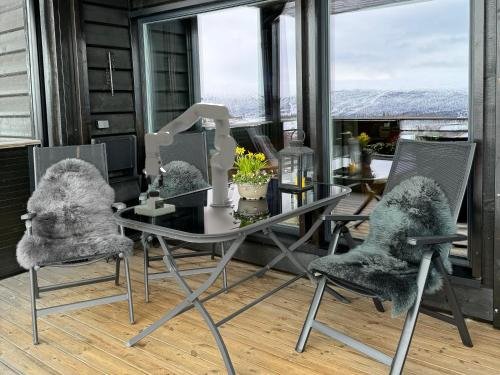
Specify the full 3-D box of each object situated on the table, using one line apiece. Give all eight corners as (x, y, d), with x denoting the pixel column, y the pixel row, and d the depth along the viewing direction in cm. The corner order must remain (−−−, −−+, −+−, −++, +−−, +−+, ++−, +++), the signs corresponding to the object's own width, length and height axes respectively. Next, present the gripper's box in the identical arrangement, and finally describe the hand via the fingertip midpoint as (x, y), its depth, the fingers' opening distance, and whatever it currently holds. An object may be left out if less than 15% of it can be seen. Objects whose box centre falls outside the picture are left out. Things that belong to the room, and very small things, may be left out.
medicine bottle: (155, 213, 290) (154, 192, 288) (146, 211, 294) (145, 191, 292) (164, 210, 296) (163, 190, 294) (155, 209, 299) (154, 189, 297)
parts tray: (175, 211, 296) (174, 205, 296) (154, 216, 284) (154, 210, 283) (155, 208, 306) (155, 202, 305) (134, 213, 293) (134, 207, 292)
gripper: (168, 155, 287) (170, 185, 290) (147, 153, 297) (149, 183, 300) (158, 156, 281) (161, 187, 284) (137, 155, 291) (139, 185, 294)
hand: (155, 185), depth 292 cm, fingers open, 9 cm apart
